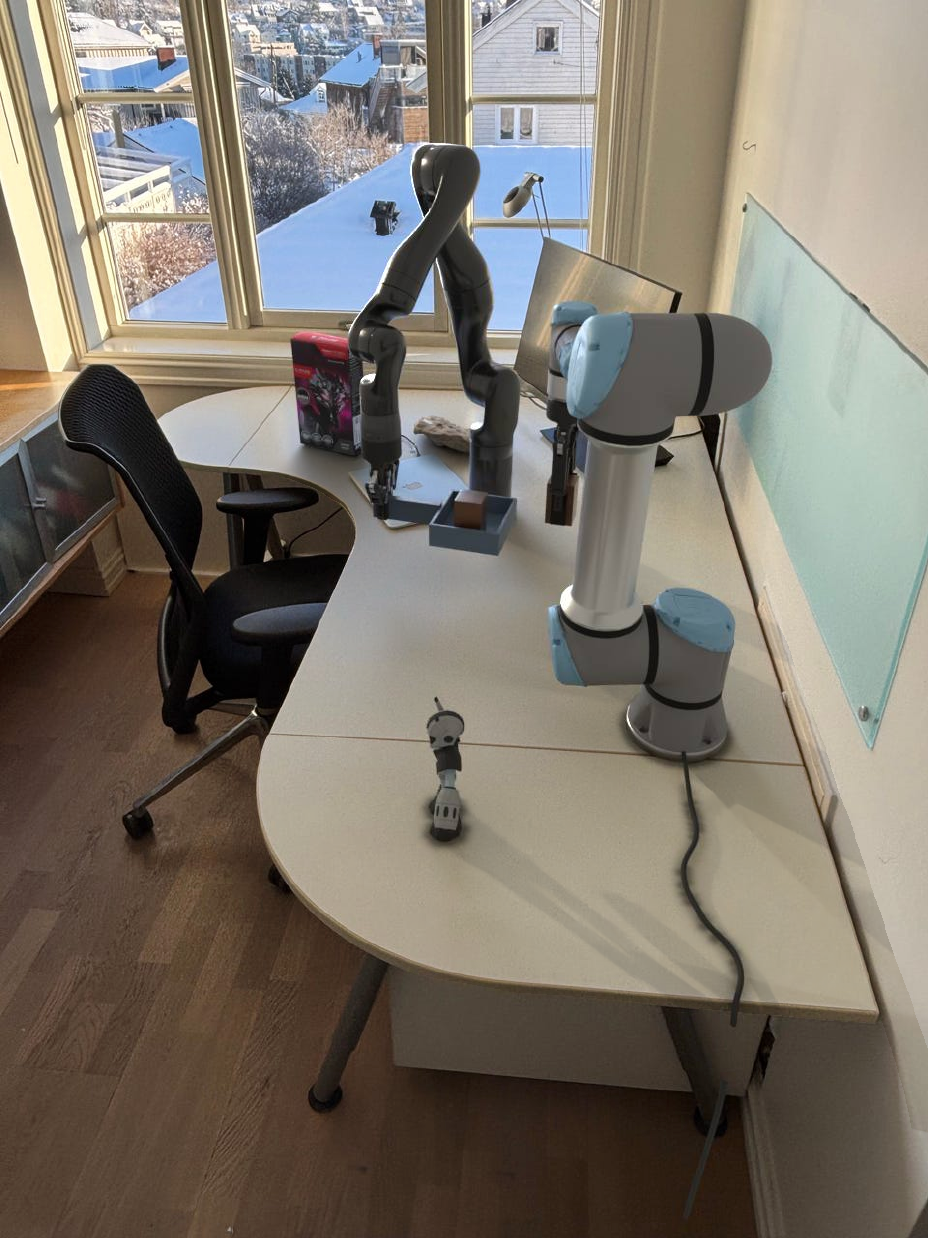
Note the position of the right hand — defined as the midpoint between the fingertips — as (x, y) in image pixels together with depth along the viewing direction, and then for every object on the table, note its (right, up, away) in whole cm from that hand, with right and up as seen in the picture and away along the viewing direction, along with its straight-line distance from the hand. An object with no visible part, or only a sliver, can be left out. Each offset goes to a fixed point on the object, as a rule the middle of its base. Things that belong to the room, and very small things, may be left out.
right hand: (560, 517), depth 171 cm
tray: (-23, -1, +6) cm, 23 cm away
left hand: (-33, +1, +8) cm, 34 cm away
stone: (-21, +25, +63) cm, 71 cm away
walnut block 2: (0, 0, 0) cm, 0 cm away
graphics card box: (-51, +25, +62) cm, 84 cm away
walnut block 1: (-17, -3, +2) cm, 17 cm away
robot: (-20, -47, -44) cm, 67 cm away
